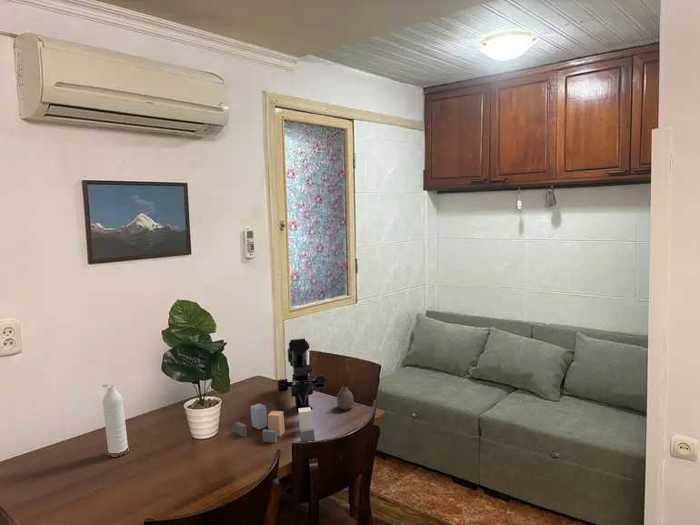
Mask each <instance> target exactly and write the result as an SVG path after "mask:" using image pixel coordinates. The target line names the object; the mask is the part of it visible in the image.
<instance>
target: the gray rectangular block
mask: <svg viewBox="0 0 700 525" xmlns="http://www.w3.org/2000/svg"><path fill="white" fill-rule="evenodd" d="M250 418H251V427H252V428H255V429H257V430H262V429H265V428H266V427H268V413H267V406H266V405H265V404H261V403H256V404H253V405H251V406H250Z"/></svg>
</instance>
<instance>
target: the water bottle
mask: <svg viewBox="0 0 700 525" xmlns="http://www.w3.org/2000/svg"><path fill="white" fill-rule="evenodd" d="M110 384H111V383H110V382H104V383H102V384H101V386H102V388H107V389H106V390H107V391H106V393H105V395H104V397H103V399H102V407H103V409H102V410H103V414H104V416H103V417H104V425H105V427H104V428H105V434H106V442H107V453H108V452H109V453H120V452H123V451H125V450H126V449H127V448H128V449H129V444H128V437H127V436H128V435H127V427H126V426H127V425H126V418H125V409H124V398H123V396H122V394H121V393H120V392H119V391H118V390H117V389H116V385H114V384H112V385H110Z"/></svg>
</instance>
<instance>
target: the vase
mask: <svg viewBox="0 0 700 525" xmlns="http://www.w3.org/2000/svg"><path fill="white" fill-rule="evenodd" d="M336 403H337V407H339V409H340V410H343V411H347V410H350V409H352V407H353V405H354V395H353V393H352V392H351V390H350V389H349V388H348V386H342V387H341V388H340V390H339V392H338V393H337V396H336Z"/></svg>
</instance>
